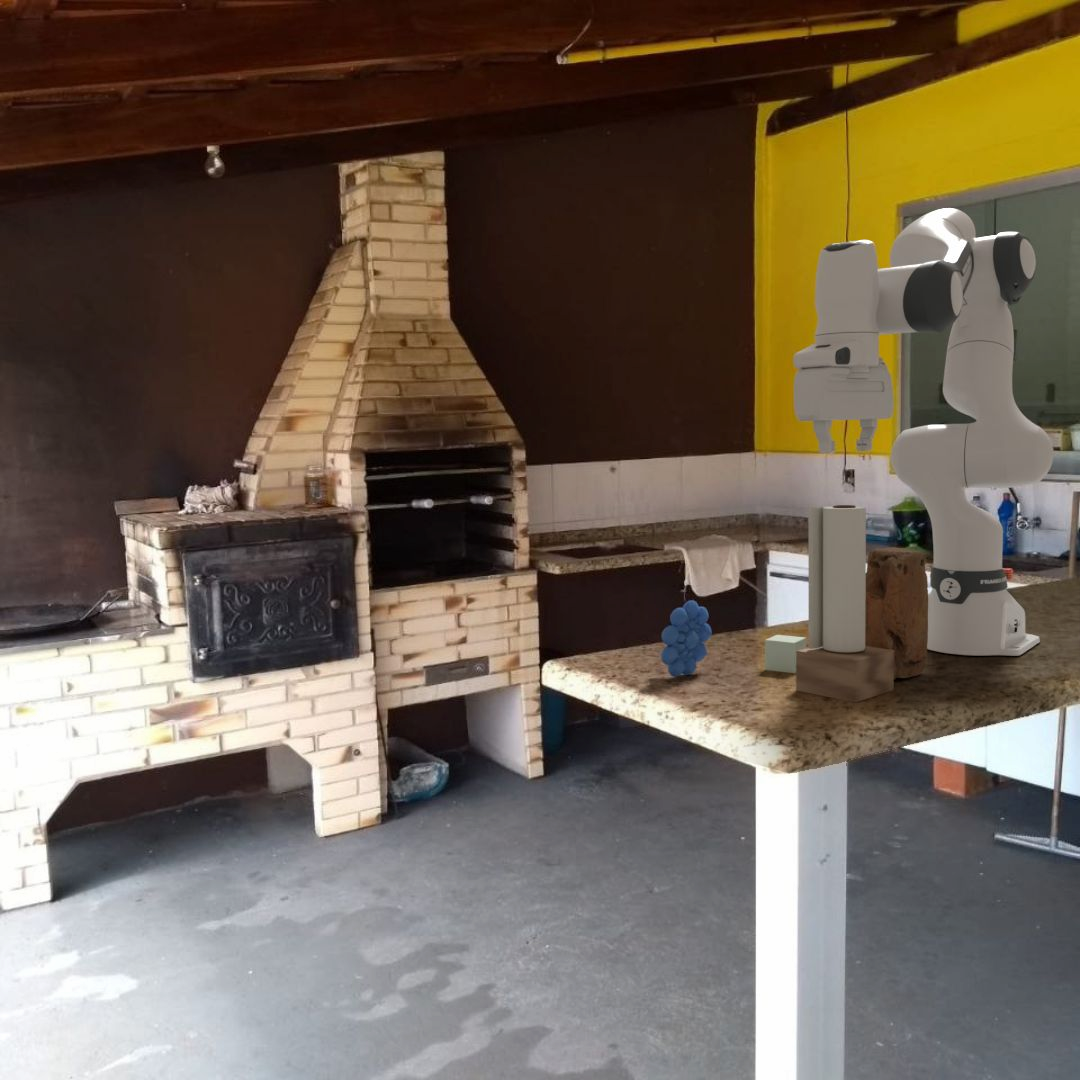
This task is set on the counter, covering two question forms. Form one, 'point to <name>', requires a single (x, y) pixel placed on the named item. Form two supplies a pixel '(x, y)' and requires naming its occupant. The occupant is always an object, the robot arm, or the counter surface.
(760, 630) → the counter surface
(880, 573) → the block
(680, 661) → the grapes
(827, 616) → the paper towel roll
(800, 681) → the walnut block
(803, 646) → the green cube
